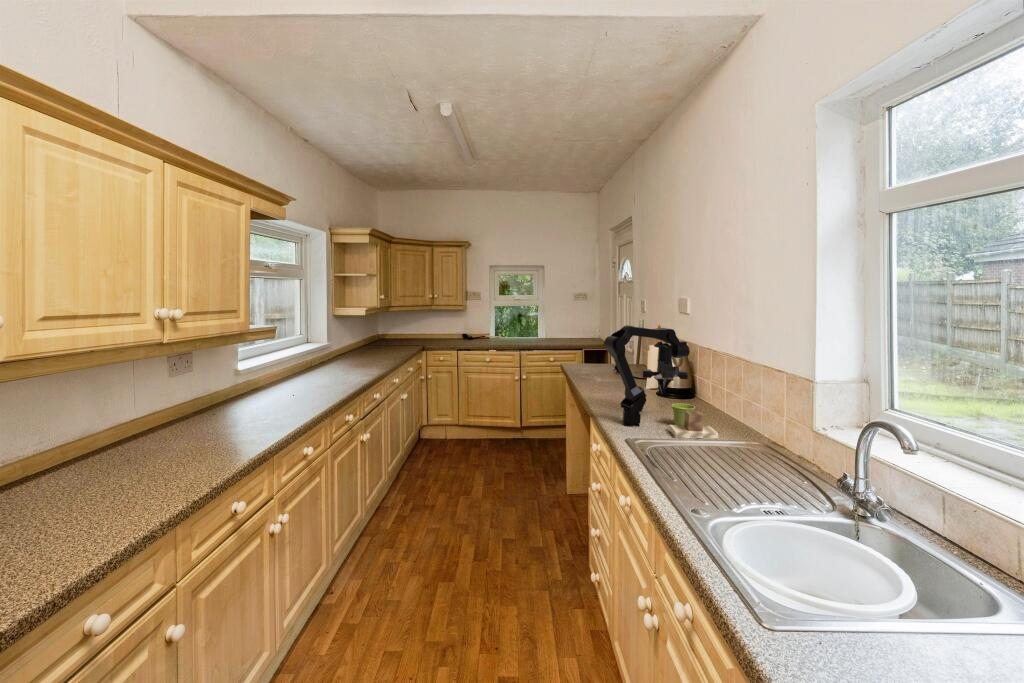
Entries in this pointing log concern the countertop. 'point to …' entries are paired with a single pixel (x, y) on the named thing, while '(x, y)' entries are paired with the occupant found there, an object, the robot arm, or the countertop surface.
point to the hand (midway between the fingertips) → (662, 394)
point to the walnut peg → (693, 421)
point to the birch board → (692, 432)
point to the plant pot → (681, 412)
